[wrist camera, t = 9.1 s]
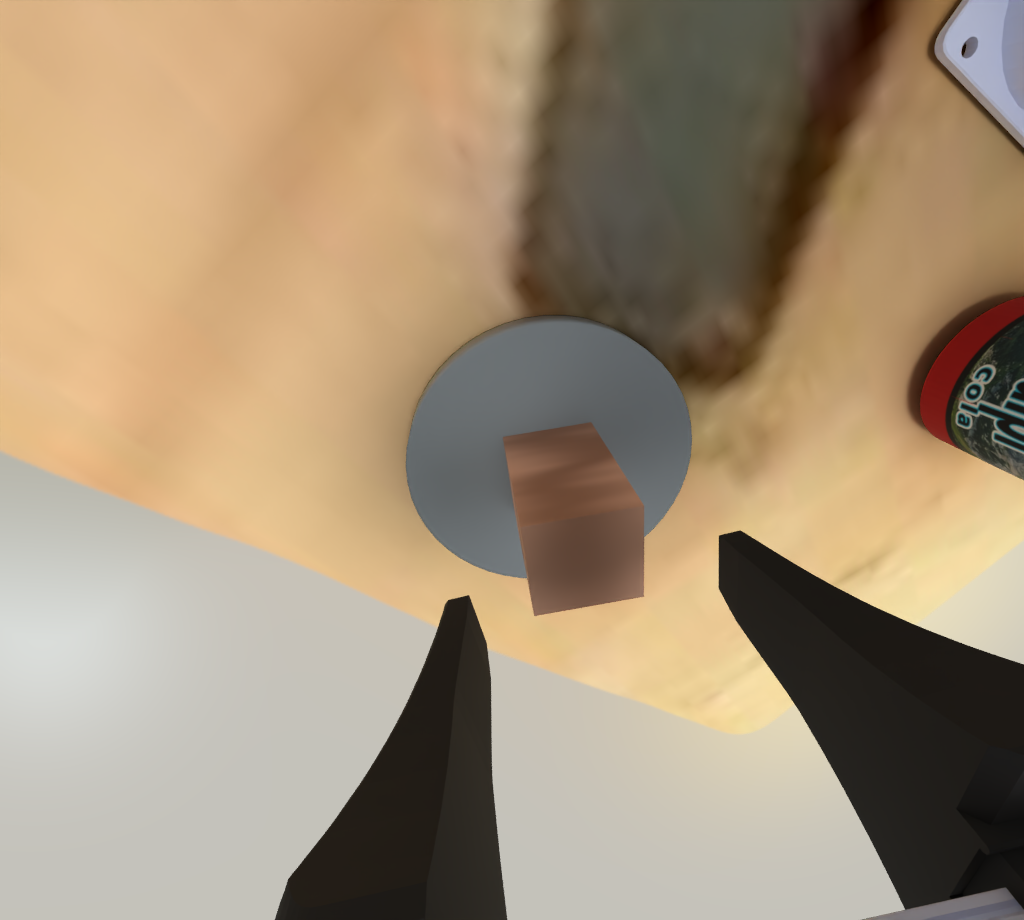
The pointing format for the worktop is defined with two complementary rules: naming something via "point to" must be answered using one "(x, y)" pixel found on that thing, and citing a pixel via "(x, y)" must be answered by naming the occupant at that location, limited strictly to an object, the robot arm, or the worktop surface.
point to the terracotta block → (575, 519)
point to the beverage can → (981, 389)
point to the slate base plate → (538, 427)
